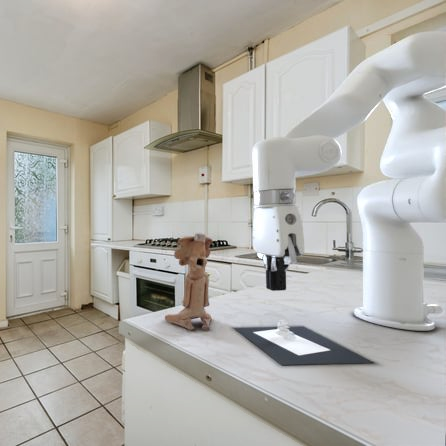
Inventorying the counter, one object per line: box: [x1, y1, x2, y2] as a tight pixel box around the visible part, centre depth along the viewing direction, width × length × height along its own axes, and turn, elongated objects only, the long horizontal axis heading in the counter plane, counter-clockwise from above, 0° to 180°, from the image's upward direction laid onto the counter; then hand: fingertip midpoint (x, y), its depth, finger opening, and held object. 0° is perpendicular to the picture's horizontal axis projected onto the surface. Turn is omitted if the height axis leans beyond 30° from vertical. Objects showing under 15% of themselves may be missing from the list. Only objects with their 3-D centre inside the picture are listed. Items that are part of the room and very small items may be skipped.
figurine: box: [164, 232, 213, 331], centre depth 60 cm, size 11×8×20 cm
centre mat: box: [233, 325, 375, 366], centre depth 50 cm, size 15×15×1 cm
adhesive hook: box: [274, 319, 297, 340], centre depth 52 cm, size 3×3×3 cm
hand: (276, 289), depth 56 cm, fingers closed
